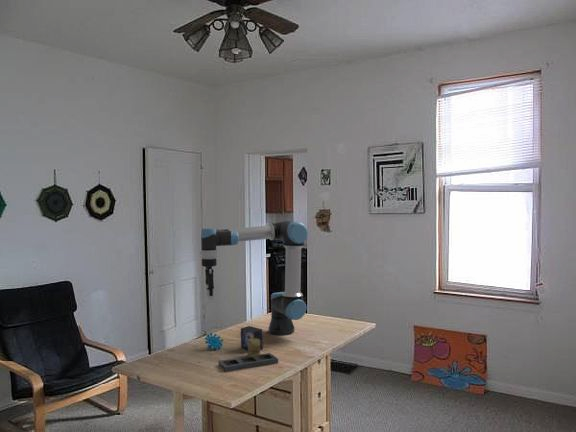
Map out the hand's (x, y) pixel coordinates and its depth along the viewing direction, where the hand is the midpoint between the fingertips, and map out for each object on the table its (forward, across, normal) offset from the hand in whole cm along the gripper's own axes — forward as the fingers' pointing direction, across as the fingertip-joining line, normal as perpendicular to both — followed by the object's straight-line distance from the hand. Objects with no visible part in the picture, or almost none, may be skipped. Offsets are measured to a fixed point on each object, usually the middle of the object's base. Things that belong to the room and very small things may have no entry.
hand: (209, 299), depth 250 cm
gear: (+27, -3, +2) cm, 27 cm away
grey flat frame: (+26, +26, +15) cm, 40 cm away
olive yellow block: (+26, +14, +20) cm, 36 cm away
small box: (+26, +2, +21) cm, 34 cm away
